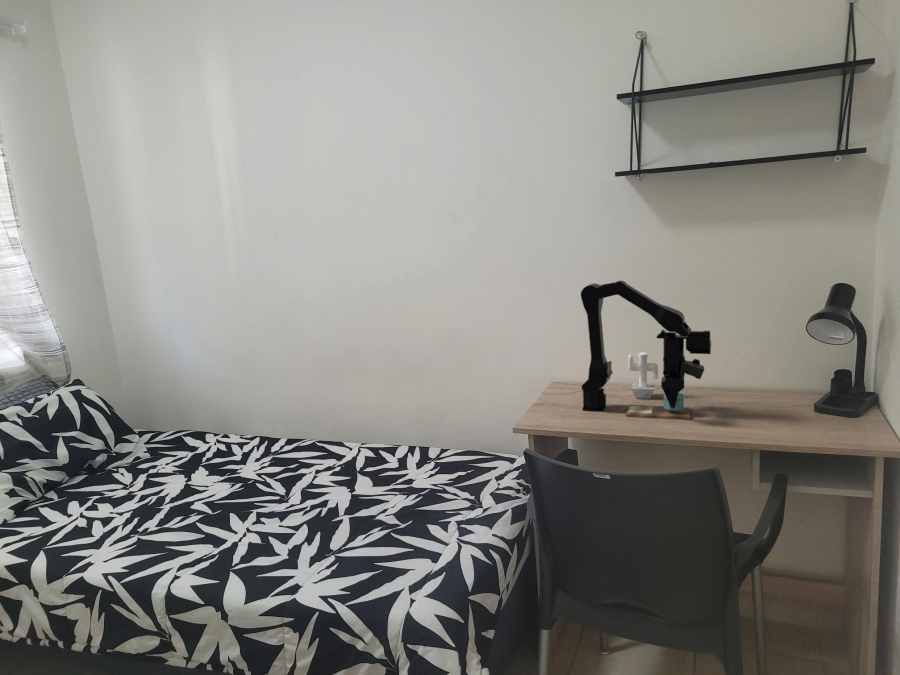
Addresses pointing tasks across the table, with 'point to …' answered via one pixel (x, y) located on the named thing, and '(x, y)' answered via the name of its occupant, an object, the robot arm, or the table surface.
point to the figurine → (643, 375)
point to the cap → (678, 405)
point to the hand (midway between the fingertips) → (673, 403)
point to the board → (657, 412)
